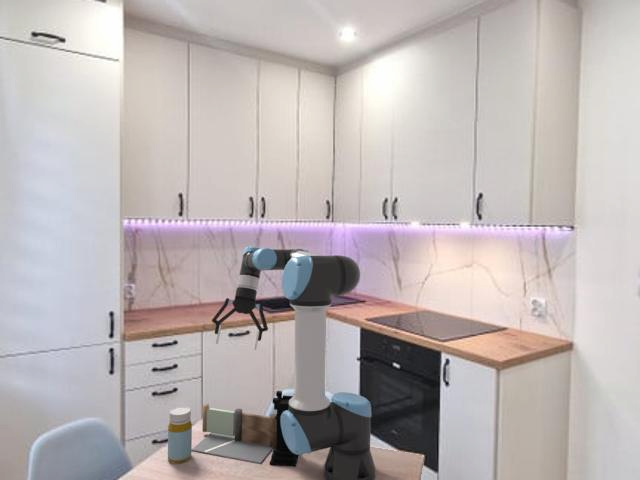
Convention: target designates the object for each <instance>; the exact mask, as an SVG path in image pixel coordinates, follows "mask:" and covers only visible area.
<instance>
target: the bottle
mask: <svg viewBox="0 0 640 480" xmlns="http://www.w3.org/2000/svg"><path fill="white" fill-rule="evenodd" d="M191 412H192V410H191V408H190V407H188V406H177V407H174V408H171V409H170V411H169V422H168V423H169V424H168V426H167V460H168V462H170V463H172V464H176V465H177V464H183V463H186V462H187V461H189V459H191V457H192V451H191V450H192V449H193V448H192V447H193V446H192V443H193V442H192V441H193V440H192V439H193V436H192V434H193V433H192V432H193V428H192V427H193V425H192V421H191V416H192V413H191Z"/></svg>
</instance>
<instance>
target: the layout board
mask: <svg viewBox="0 0 640 480" xmlns="http://www.w3.org/2000/svg"><path fill="white" fill-rule="evenodd" d="M273 450H274V447H270V446H269V445H263V444H257V443H251V442H246V441H242V440H240V441H235V435H234V436H228V435H222V434H216V433H210V432H209V434H208V435H206V437H204V438H203V439H202V440H201V441H200V442H198V443H197V444H196V445H195V446H194V447H193V448H191V452H194V453H195V452H196V453H199V454H200V453H201V454H207V455H211V456H217V457H222V458H228V459H232V460H233V459H234V460H239V461H244V462H250V463H253V464H260V465H261V464H262V463H263V462H264V460H265V459H266V458H267V457H268V456H269V454H270V453H271V452H272V451H273Z"/></svg>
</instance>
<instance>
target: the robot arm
mask: <svg viewBox="0 0 640 480" xmlns="http://www.w3.org/2000/svg"><path fill="white" fill-rule="evenodd" d="M243 251H244V252H243V254H242V259H241V265H240V270H239V275H238V281H237V287H236V290H235V295H234V299H230V298H229V297H228V298H225V300H224V303H223V305H222V306H221V308H220V309H219V310H218V312H217V313H216V314H214V317H213V318H212V319H211V322H212V323H213V324H215V328H214V335H217V336H216V340H215V344H216V345H218V344H219V339H220V335H221V330H222V325H221V324H223V322H224V321H226V320H227V319H228V318H230V316H232V315H233V314H234V313H235V312H236V313H238V314H244V315H249V316H250V318H251V320H252V321H253V323H254V325H255V327H256V329H258V330H257V331H256V333H255V339H254V343H253V350H254V351H257V348H258V342H259V341H261V340H262V337H263V333H264V332H267V331H269V327H268V325H267V321H266V316H265V313H264V310H263V309H264V304H263V303H258V304H256V299H257V294H258V291H257V290H258V288H259V282H260V277H261V273H262V272H263V271H282V270H283V273H282V278H281V288H282V294H283V296H284V297H285V298H286V299H288V300H289V305H290V307H291V308H293V309H294V313H295V314H294V373H293V374H294V377H293V379H294V380H293V381H294V383H293V384H294V388H293V391H294V393H293V395H292V396H293V397H292V398H291V399H290V400H289V410H286V411H284V412H283V413H282V415H281V419H280V422H281V430H282V434H283V437H284V440H285V442H286V444H287V446H288V448H289V449H290V451H291V452H293V453H294V454H297V455H299V456H300V455H304V454H311V453H313V452H317V451H321V450H325V449H329V450H328V454H327V456H326V459H325V461H324V465H323V476H324V478H325V479H326V480H376V465H375V461H374V459H373V456H372V452H371V430H372V428H371V427H372V425H371V424H372V422H371V421H372V417H373V416H372V405H371V402H370V401H369V399H367V398H366V397H364V396H362V395H360V394H357V393H353V392H345V391H344V392H343V391H342V392H335V393H333V395H332V396H331V399H329V398H328V397H327V396H326V347H327V346H326V345H327V344H326V340H327V338H326V335H327V334H326V332H327V330H326V329H327V326H326V325H327V310H328V309H329V308H330V307H331V306H332V297H340V296H341V297H342V296H344V295H347V294H349V293H351V292H352V291H354V290H355V288H357V286H358V284H359V282H360V279H361V271H360V267H359V265H358V263H357V262H356V261H355V260H354V259H353V258H351V257H348V256H346V255H323V254H319V253H313V252H310V251H309V250H308V249H303V248H294V249H293V248H290V249H289V248H288V249H284V248H283V249H282V248H281V249H280V248H278V249H275V248H273V249H272V248H269V247H264V248H261V247H257V246H246V247H245V248H244V250H243ZM231 304H232V305H233V308H232V309H231V310H230V311H229V312H228V313H226V314H225V315H224V316H222V317H221V318H220V319H219V317H220V316H221V314H223V312H224V311H225V309H226V308H227V307H228V306H230V305H231ZM255 308H256V310H257V311H258V314H259V316H260V320H261V323H262V326H261V323H260V322H259V319H257V317H256V315H255V313H254V312H253V311H254V309H255ZM217 319H219V320H217Z"/></svg>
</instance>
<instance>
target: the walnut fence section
mask: <svg viewBox="0 0 640 480" xmlns="http://www.w3.org/2000/svg"><path fill="white" fill-rule="evenodd" d="M234 412H235V441H240V440H242V441H246V442H251V443H257V444H263V445H269V446H270V447H275V445H276V434H277V420H276V419H275V417H276V414H277V413H271V414H270V415H269V416H266V415H261V414H260V415H258V414H254V413H246V412H243V409H242V408H235V410H234Z"/></svg>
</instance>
